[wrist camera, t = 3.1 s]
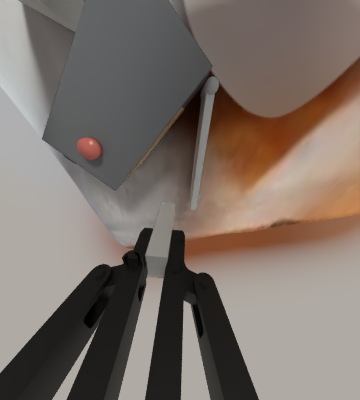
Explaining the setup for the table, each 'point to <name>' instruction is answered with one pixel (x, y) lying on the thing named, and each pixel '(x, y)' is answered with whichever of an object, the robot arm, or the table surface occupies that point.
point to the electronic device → (59, 10)
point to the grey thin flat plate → (202, 137)
